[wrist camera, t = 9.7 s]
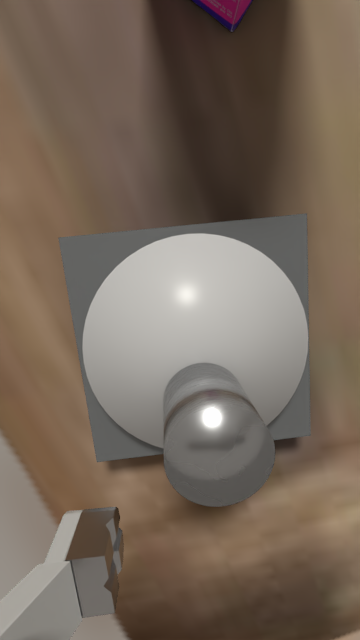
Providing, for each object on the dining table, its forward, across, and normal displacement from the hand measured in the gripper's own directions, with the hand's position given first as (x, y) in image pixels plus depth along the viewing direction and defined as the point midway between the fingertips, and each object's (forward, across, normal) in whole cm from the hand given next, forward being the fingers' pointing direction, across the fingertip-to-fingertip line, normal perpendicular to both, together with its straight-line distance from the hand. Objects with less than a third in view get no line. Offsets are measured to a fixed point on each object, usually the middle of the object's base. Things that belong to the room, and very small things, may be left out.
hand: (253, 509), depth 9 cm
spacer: (+8, +1, 0) cm, 8 cm away
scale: (+12, +1, -2) cm, 12 cm away
